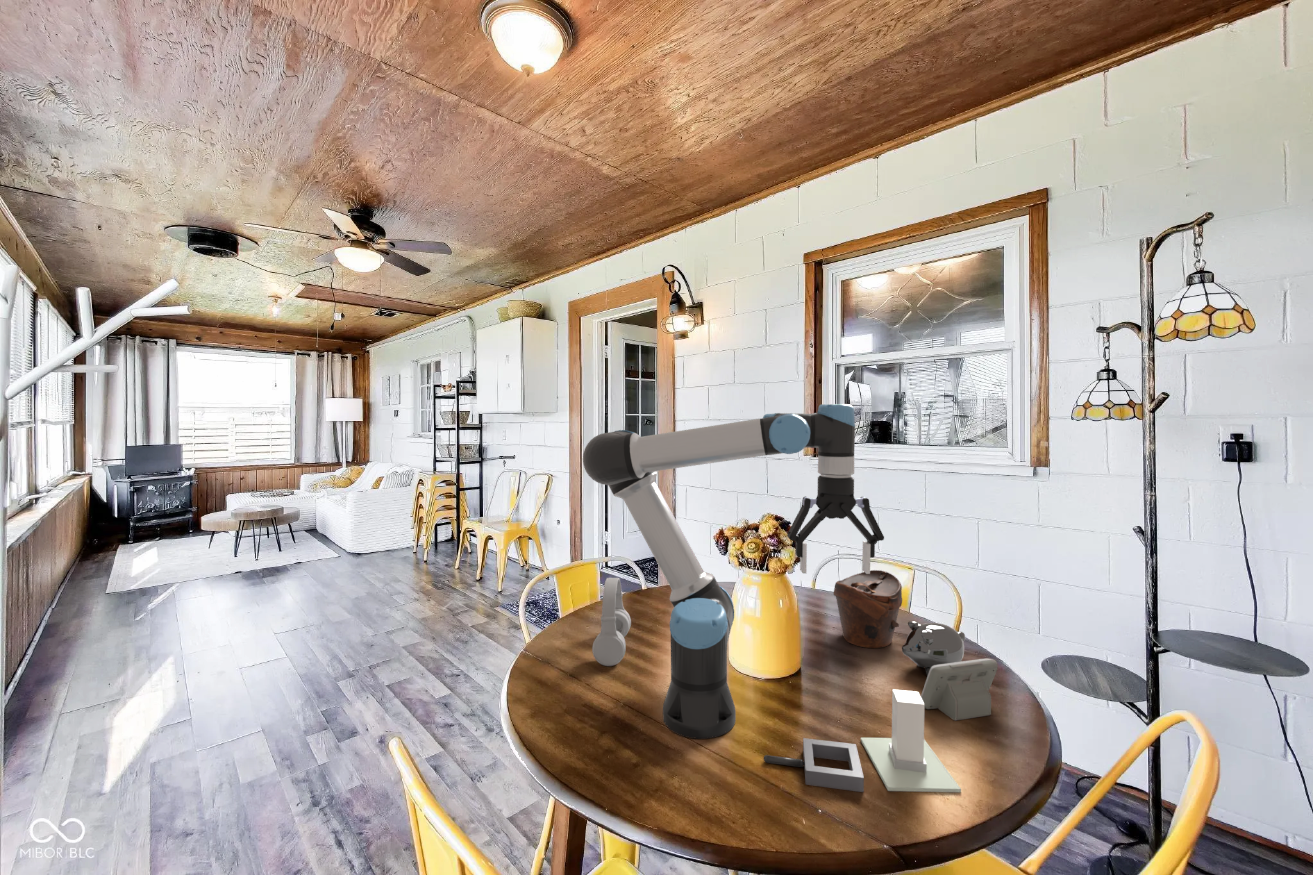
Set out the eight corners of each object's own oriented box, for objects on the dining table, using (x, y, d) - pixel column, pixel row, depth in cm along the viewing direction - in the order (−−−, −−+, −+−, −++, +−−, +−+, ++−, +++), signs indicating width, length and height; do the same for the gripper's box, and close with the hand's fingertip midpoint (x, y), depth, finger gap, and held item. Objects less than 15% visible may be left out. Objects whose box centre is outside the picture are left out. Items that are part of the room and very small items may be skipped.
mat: (888, 790, 92) (888, 787, 92) (860, 740, 106) (860, 737, 106) (960, 792, 91) (961, 788, 91) (923, 741, 105) (923, 738, 105)
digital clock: (983, 697, 121) (984, 650, 121) (1010, 720, 112) (1011, 669, 112) (911, 698, 121) (911, 651, 121) (932, 721, 112) (933, 671, 112)
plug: (894, 768, 97) (895, 702, 96) (888, 750, 102) (889, 687, 101) (926, 772, 96) (927, 705, 95) (918, 754, 101) (919, 690, 100)
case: (832, 649, 145) (833, 583, 144) (832, 622, 164) (834, 563, 163) (905, 660, 140) (907, 591, 139) (897, 630, 159) (899, 569, 158)
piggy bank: (892, 660, 139) (893, 616, 139) (951, 659, 139) (952, 615, 139) (913, 682, 128) (914, 634, 128) (977, 681, 128) (978, 633, 127)
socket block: (762, 778, 95) (762, 764, 95) (764, 746, 104) (764, 733, 104) (863, 792, 92) (863, 777, 92) (855, 757, 101) (855, 744, 101)
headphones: (625, 667, 137) (624, 591, 136) (591, 667, 137) (590, 591, 136) (631, 634, 157) (630, 568, 156) (602, 634, 157) (601, 568, 156)
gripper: (887, 473, 122) (886, 567, 123) (774, 473, 123) (774, 566, 124) (901, 477, 114) (899, 577, 115) (781, 477, 115) (780, 576, 116)
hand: (834, 572), depth 120 cm, fingers open, 13 cm apart
